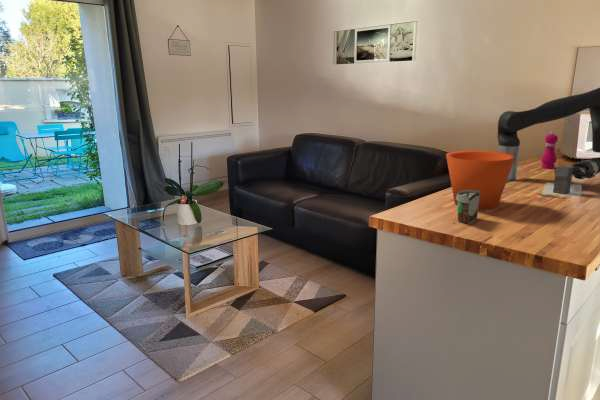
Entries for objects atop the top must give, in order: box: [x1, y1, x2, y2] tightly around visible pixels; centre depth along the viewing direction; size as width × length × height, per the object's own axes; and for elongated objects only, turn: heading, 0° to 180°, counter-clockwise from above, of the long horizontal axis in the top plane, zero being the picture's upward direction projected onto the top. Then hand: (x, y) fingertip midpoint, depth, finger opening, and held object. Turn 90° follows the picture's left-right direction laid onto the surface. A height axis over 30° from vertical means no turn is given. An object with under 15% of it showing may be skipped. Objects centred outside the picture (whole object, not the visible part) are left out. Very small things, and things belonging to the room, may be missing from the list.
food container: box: [456, 190, 480, 226], centre depth 156 cm, size 12×6×10 cm, turn 141°
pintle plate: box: [540, 181, 583, 200], centre depth 190 cm, size 24×14×4 cm, turn 147°
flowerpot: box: [445, 149, 515, 210], centre depth 174 cm, size 25×25×20 cm
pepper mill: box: [540, 131, 559, 170], centre depth 239 cm, size 7×7×20 cm
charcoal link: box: [553, 165, 573, 195], centre depth 184 cm, size 5×5×11 cm
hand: (566, 174), depth 184 cm, fingers open, 8 cm apart
